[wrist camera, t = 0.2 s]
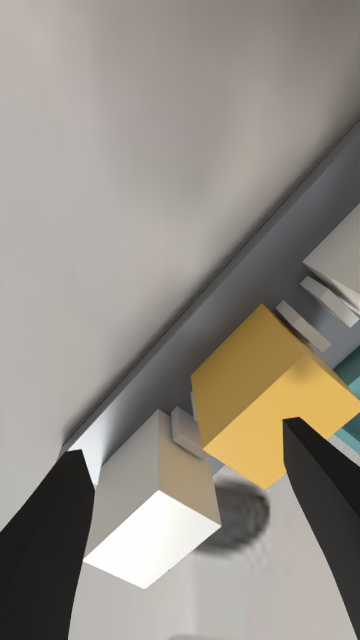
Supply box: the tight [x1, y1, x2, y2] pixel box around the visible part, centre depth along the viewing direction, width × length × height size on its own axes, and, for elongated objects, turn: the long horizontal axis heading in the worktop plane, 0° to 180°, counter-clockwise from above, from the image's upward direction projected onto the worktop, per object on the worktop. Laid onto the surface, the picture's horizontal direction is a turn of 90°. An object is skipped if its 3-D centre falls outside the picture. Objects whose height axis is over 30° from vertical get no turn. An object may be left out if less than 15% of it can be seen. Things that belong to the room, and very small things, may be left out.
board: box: [57, 120, 360, 486], centre depth 20 cm, size 9×27×4 cm, turn 139°
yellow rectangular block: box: [190, 303, 360, 490], centre depth 17 cm, size 4×6×6 cm, turn 139°
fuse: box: [83, 409, 221, 589], centre depth 20 cm, size 4×6×6 cm, turn 139°
